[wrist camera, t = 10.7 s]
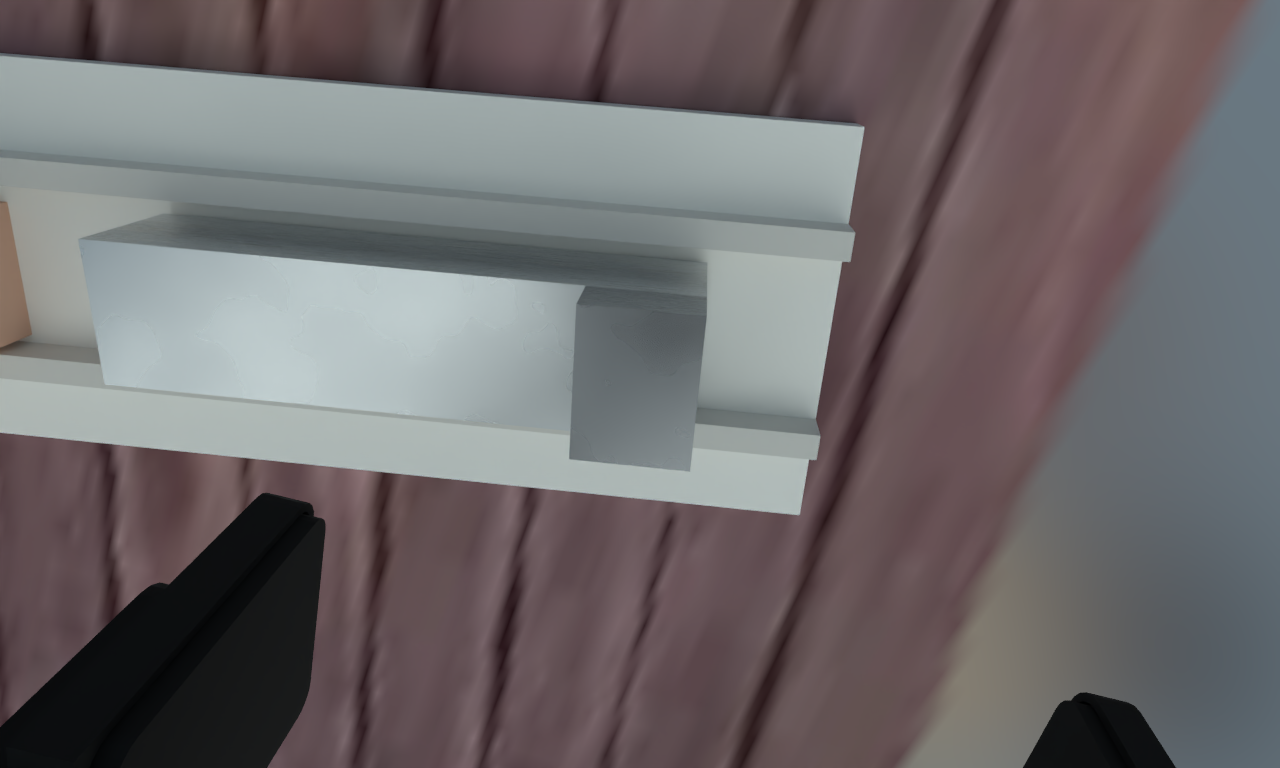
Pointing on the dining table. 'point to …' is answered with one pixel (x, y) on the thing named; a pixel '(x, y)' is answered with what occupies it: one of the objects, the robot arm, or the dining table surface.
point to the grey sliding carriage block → (408, 328)
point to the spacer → (11, 286)
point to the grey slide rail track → (438, 208)
